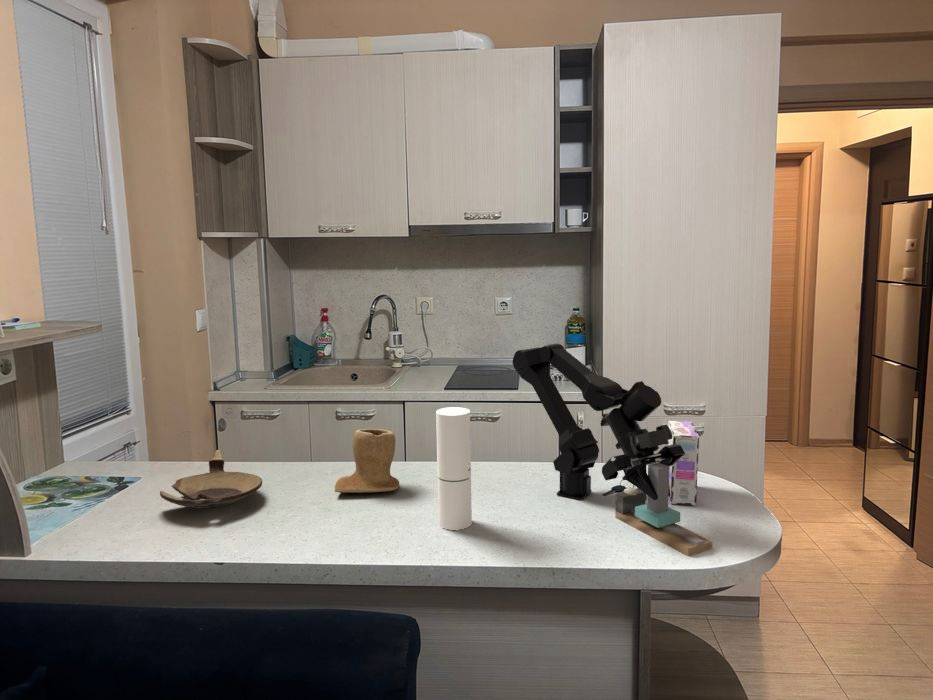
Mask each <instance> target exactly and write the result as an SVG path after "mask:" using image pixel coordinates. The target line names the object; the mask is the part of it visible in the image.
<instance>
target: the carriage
mask: <svg viewBox="0 0 933 700" xmlns="http://www.w3.org/2000/svg"><path fill="white" fill-rule="evenodd" d="M647 475H648V477H649V479H650V481H651V483H652V485H653V487H654V489H655V491H656V493H657V496H658V499H657V500H653V499H652V498H651V497H649V496H648V495H647V494H646V504H645V505H641V506H636V507H635V516H636V517H638V518H640V519H642V520H644V521H646V522H648V523H650V524H652V525H654V526H656V527H657V528H659V527H663V526H666V525H670V524H674V523H675V524H677V523H680V522H681V512H680V511H678V510H676V509H674V508H671V507H669V498H670V496H668V494H669V466H666V465H664V464H661V463H655V464H651V465H647Z"/></svg>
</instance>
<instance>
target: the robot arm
mask: <svg viewBox="0 0 933 700" xmlns="http://www.w3.org/2000/svg"><path fill="white" fill-rule="evenodd" d="M512 365H513V368H514V370H515V371H516V372H517V374H518V376H519V377H520V378H521V379H523V380H524V381H525V382H527V383H528V384H530V385H531V386H532V387H533V388H532V389H534V391H535V393H536V395H537V397H538V399H539V401H540V402H541V404H542V407H543V408H544V409H545V412H546V413H547V416H548V417H549V419H550V421H551V423H552V425H553V427H554V428H555V430H556V432H557V434H558V438H559V439H558V449H559V452H560V454H559V455H558V456H557V457H556V458H555V459H554V460H553V468H554V470H555V471H556V472H559V490H558V491H557V492H556V496H561V497H566V498H571V499H575V500H583V499H585V498H586V497H587V496H588V495H589V494H591V493H592V489H591V488H592V485H591V484H592V476H591V475H590V469H591V468H594V467H595V464H596V462H597V461H598V458H599V453H600V448H599V446H598V443H599V442H598V440H597V439H596V438H595V436H594V434H593V432H592V430H591V429H590V428H588V427H587V428H584V429H583V428H581V427H580V426H579V425H578V424H577V422H576V420H575V418H574V417H573V415H572V413H571V411H570V409H569V407H568V405H567V404H566V402H565V401H564V399H563V397H562V395H561V393H560V391H559V390H558V387H557V386H556V384H555V383H554V381H553V379H552V377H551V366H552V367H553V368H555V369H556V370H557V371H558V372H559V373H560V374H562V375H563V376H564V377H565V378H566V379H568V380H569V381H570V382H571V383H573V385H575V386H576V387H577V388H578V389H579V390H580V391H581V395H582V398H583V400H584V401H585V402H586V403H587V404H588V405H589V406H590V408H591V409H593V410H594V411H596V412H601V411H606V410H610V409H611V410H610V411H609V412H608V413H603V414H602V418H601V420H600V423H599V424H600V427H609V428H610V429H611V432H612V433H613V435H614V438H615V439H616V441H617V442H616V444H615V448H616V449H617V450H621V451H622V453H623V454H620V455H619V454H618V455H614V456H611V457H610V458H609V459H608V460H607V461H606V463H605V464H604V465H603V466H601V467H602V468H601V474H602V476H603V478H604V480H605V481H611V480H615V479H617V478H618V475H619V472H620V471H623V474H624V475H623V476H622V478H621V479H622V481H627V482H628V483H630V484H631V485H633V486H634V487H636V489H637V488H639V489H640V490H642V491H643V492H644V493H645V494H646V496H647V495H648V496H649V497H651V498H652V499H653V500H657V499H658V496H657V493H656V491H655V489H654V487H653V485H652V483H651V481H650V479H649V477H648V470H647V466H648V465H651V464H655V463H661V464H664V465H666V466H669V467H670V466H672V465H673V464H674V463H676V462H677V461H678V460H679V459H680V458H681V457H682V456H683V455H684V454H685V452H684V450H683V449H682V447H681V445H678V444H673V445H668V444H669V442H668V440H669V439H672V437H673V436H672V432H671V430H670V428H669V427H668V424H662V425H659V426H656V429H655V430H651V431H649V430H648V429H646V428H641V426H640V425H639V423H638V422H643V421H645V420H646V419H647V418H648V417H649V416H650V415H651V414H652V413H654V412H655V411H656V409H658V408H659V407H660V406H661V404H662V397H661V395H660V394H659V392H658V391H657V390H655V389H654V388H652V387H651V386H649V385H646V384H645V382H644V381H642V380H641V381H636V382H635V383H633V385H632V386H631V388H629V390H628V389H626V388H623V387H622V386H621V385H620V384H619V383H618V382H616V381H614V380H612V379H610V378H609V377H606V376H603V375H599V374H596V373H595V372H593V371H592V369H590V368H589V367H587V366H586V365H585V364H583V362H581V361H580V360H579V359H577V358H576V357H575V356H573V355H572V354H571V353H570V352H568V351H567V350H566V349H565V347H564V346H563V345H562V344H559V343H552V344H545V345H544V346H540V347H532V348H531V347H530V348H525V349H519V350H517V351H516V352H515V353H514V354H513V358H512ZM662 445H664V446H663V447H662V448H661V449H660V447H659V446H662ZM659 449H660V450H659ZM657 450H659V451H658V452H657ZM655 452H656V453H655ZM668 496H669V497H670V488H669V494H668Z"/></svg>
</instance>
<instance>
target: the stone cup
mask: <svg viewBox="0 0 933 700" xmlns="http://www.w3.org/2000/svg"><path fill="white" fill-rule="evenodd" d="M351 442H352V444H351V445H352V446H351V447H352V453H353V458H354V462H355V471H354V473H352V474H351V475H345V476H341V477H340V478H338V479H337V480H336V482H335V485H334V492H335V493H340V494H341V493H343V494H346V493H350V494H355V493H360V494H364V493H381V492H382V493H385V492H392V491H395V490H398V488H399V486H400V480H399V479H398V478H396V477H394V476H392V475H391V466H392V462H393V460H394V457H395V453H396V435H395V433H394V432H393V431H391V430H387V429H380V428H363V429H357V430H355V431H354V433H353V436H352V441H351Z"/></svg>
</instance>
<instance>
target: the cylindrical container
mask: <svg viewBox="0 0 933 700" xmlns="http://www.w3.org/2000/svg"><path fill="white" fill-rule="evenodd" d="M435 421H436V424H435V425H436V427H435V428H436V466H437V471H436V472H437V511H438V526H439V525H440V526H441V527H443V528H446V529H452V530H456V531H460V530H459V529H463V530H465V529H464V528H466V529H468V528H467V527H469V526H470V525H471V524H472V523H473V522H472V511H473V510H472V508H473V507H472V463H471V462H472V459H471V458H472V457H471V456H472V455H471V454H472V452H471V450H472V449H471V446H472V445H471V410H470V409H469V408H465V407H458V406H451V407H449V406H448V407H442V408H439V409H437V410H436V411H435ZM440 526H439V527H440ZM471 526H472V525H471ZM471 526H470V527H471ZM441 527H440V528H441ZM470 527H469V528H470ZM443 528H442V529H443ZM446 529H445V530H446ZM452 530H451V531H452Z"/></svg>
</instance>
